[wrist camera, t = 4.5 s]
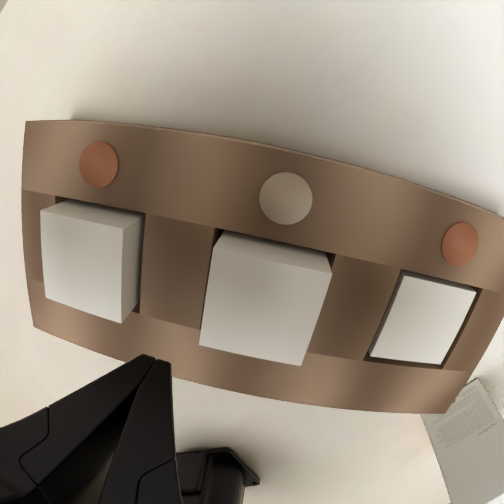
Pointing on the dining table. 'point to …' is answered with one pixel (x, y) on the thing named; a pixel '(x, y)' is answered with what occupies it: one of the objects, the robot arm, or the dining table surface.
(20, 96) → the dining table surface
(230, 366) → the key board
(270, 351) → the key mid
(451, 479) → the small box
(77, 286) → the key
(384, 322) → the key
